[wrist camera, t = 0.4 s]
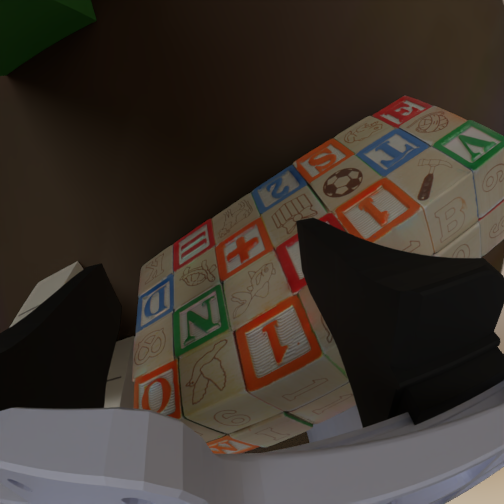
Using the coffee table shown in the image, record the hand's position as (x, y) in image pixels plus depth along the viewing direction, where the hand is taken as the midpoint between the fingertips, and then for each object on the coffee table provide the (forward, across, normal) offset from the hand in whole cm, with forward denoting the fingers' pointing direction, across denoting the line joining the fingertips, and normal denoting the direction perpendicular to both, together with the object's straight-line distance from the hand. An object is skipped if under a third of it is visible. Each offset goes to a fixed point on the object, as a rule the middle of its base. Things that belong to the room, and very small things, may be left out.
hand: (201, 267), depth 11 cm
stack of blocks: (+10, -5, +3) cm, 11 cm away
